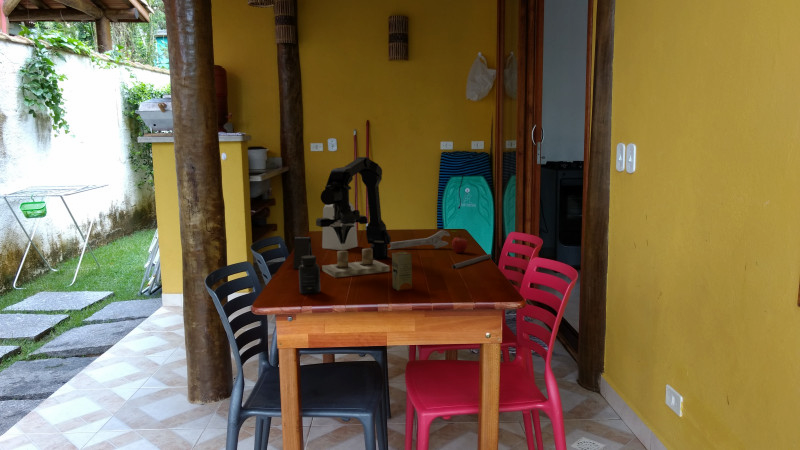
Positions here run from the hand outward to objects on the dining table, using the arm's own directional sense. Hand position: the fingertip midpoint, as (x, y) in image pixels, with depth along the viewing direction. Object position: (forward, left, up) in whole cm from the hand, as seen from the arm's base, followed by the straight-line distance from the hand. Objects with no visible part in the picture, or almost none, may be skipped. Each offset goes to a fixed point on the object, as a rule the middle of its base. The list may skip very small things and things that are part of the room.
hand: (342, 243), depth 234 cm
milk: (-19, -54, -11) cm, 58 cm away
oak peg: (0, 0, -11) cm, 11 cm away
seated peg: (-10, 0, -11) cm, 15 cm away
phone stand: (+10, -18, -11) cm, 23 cm away
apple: (-59, -13, -11) cm, 61 cm away
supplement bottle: (+21, +24, -11) cm, 34 cm away
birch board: (-5, 0, -11) cm, 12 cm away
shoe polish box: (-8, +34, -11) cm, 37 cm away
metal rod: (-52, +9, -12) cm, 54 cm away
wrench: (-49, -32, -11) cm, 59 cm away
